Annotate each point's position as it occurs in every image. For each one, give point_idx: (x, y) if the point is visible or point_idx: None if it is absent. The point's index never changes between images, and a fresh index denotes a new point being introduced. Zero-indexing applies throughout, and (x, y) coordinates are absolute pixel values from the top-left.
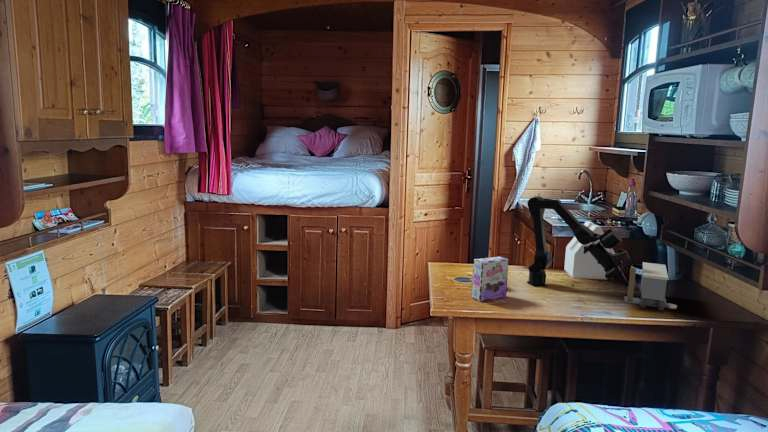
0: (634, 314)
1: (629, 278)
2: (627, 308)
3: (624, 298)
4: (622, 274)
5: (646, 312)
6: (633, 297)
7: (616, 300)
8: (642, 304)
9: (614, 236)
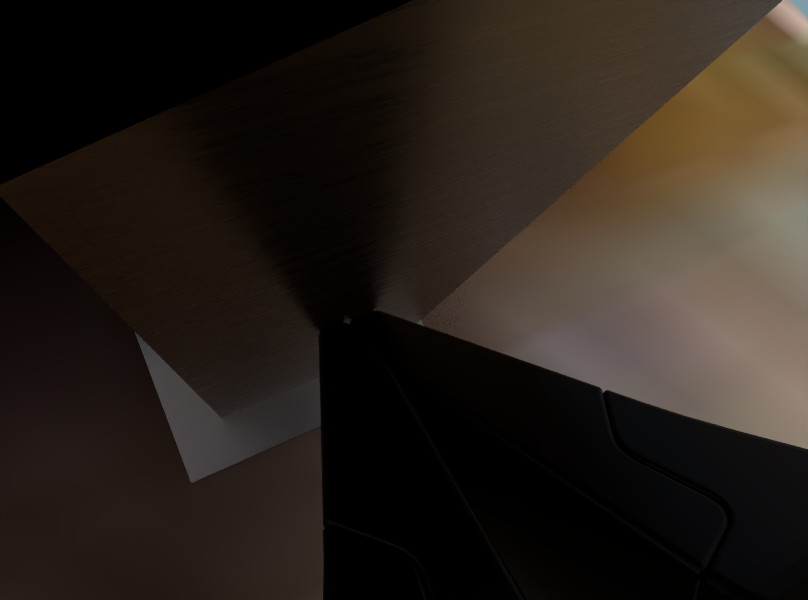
0: (767, 101)
1: (498, 213)
2: (654, 230)
3: (273, 446)
4: (795, 485)
5: None
6: (137, 334)
7: None
8: None
9: None
